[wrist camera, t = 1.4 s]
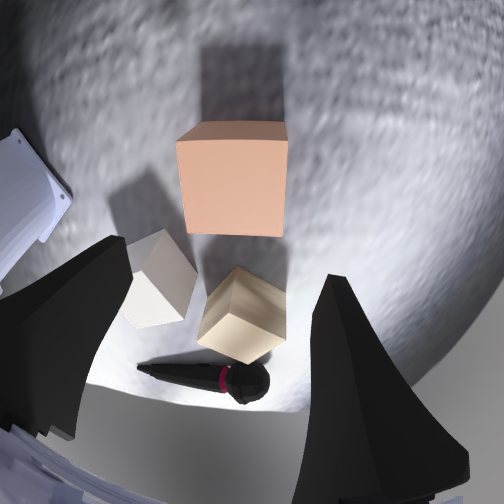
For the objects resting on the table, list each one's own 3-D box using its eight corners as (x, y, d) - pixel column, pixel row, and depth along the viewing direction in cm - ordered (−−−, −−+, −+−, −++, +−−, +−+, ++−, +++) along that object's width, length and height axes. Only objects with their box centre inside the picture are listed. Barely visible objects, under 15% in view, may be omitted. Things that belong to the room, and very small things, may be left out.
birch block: (207, 297, 25) (196, 342, 21) (237, 264, 22) (228, 312, 18) (252, 320, 26) (248, 364, 22) (285, 292, 24) (286, 340, 20)
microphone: (152, 354, 39) (276, 362, 32) (146, 389, 36) (273, 406, 29) (129, 344, 35) (263, 353, 28) (121, 382, 32) (258, 405, 25)
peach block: (207, 192, 18) (187, 233, 14) (202, 121, 15) (175, 141, 11) (281, 194, 18) (282, 236, 14) (284, 121, 15) (287, 141, 11)
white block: (122, 247, 22) (97, 287, 18) (165, 227, 20) (141, 270, 16) (155, 287, 25) (137, 329, 21) (198, 273, 23) (184, 319, 19)
